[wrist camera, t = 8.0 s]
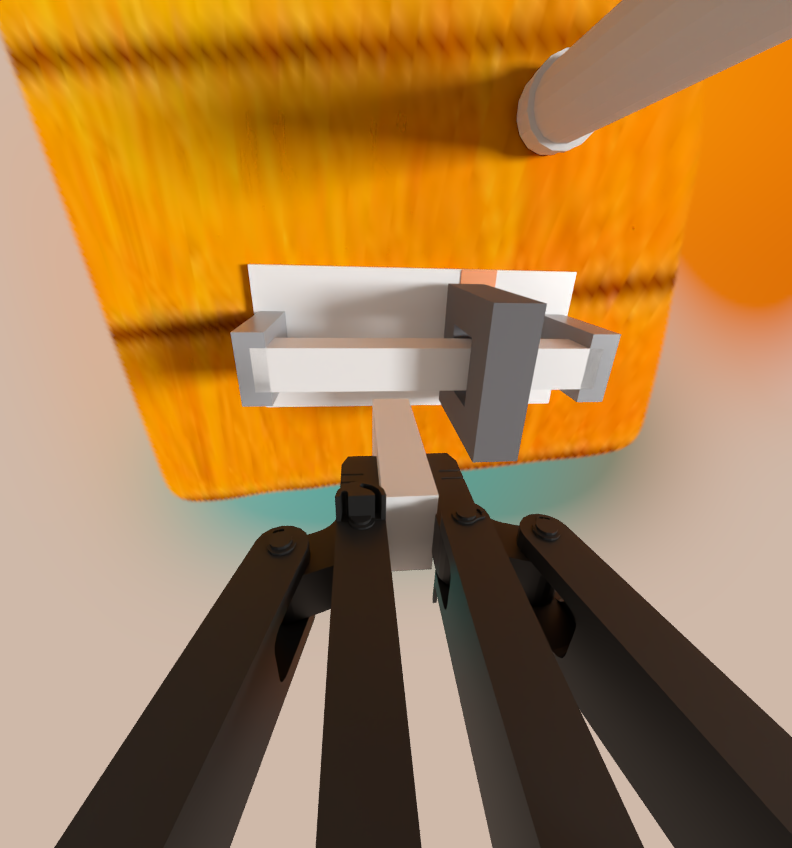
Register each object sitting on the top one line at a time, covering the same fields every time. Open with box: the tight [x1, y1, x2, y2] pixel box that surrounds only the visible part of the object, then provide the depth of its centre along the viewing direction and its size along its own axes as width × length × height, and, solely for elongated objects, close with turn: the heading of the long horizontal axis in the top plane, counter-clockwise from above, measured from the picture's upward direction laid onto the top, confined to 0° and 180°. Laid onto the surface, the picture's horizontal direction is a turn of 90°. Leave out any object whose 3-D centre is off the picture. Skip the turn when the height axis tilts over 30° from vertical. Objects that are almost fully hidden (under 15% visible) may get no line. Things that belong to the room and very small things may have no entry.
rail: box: [230, 264, 621, 407], centre depth 30 cm, size 12×27×9 cm, turn 88°
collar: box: [439, 284, 547, 462], centre depth 28 cm, size 10×3×11 cm, turn 178°
